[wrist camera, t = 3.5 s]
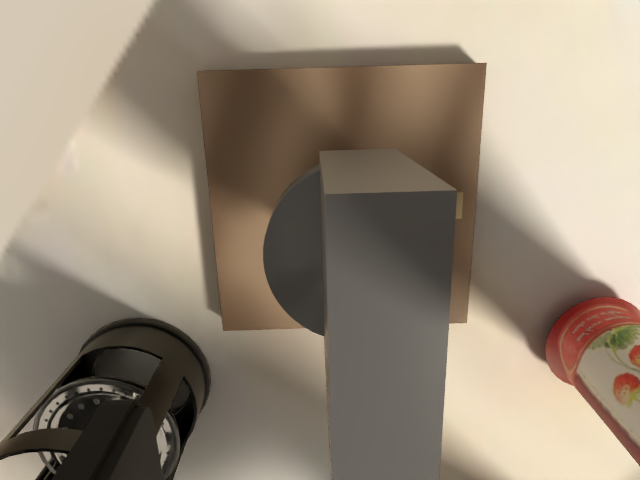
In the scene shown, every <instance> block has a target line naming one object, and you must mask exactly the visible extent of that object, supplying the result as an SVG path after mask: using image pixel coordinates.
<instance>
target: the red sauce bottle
mask: <svg viewBox="0 0 640 480" xmlns="http://www.w3.org/2000/svg"><path fill="white" fill-rule="evenodd" d="M546 359H547V363H548V365H549V367H550V369H551V371H552V372H553V373H554V374H555V375H556V376H557V377H558V378H559V379H561V380H562V381H563V382H566V383H568V384H570V385H573V386H574V387H575V388H576V389H577V390H578V391H579V393H580V394H581V395H582V396H583V397H584V399H585V400H586V401H587V402H588V403H589V404H590V406H591V407H592V408H593V409H594V410H595V412H596V413H597V414H598V415H599V416H600V418H601V419H602V420H603V421H604V423H605V424H606V425H607V426H608V428H609V429H610V430H611V431H612V432H613V434H614V435H615V436H616V437H617V439H618V440H619V441H620V442H621V444H622V445H623V446H624V447H625V448H626V450H627V451H628V452H629V453H630V455H631V456H632V457H633V458H634V459H635V461H636V462H637V463H638V464H639V466H640V311H639V310H638V309H637V308H636V307H635V306H634V305H632V304H631V303H629V302H627V301H625V300H622V299H618V298H614V297H600V298H593V299H590V300H587V301H584V302H581V303H579V304H577V305H575V306H573V307H572V308H571V309H569V310H568V311H566V312H565V313H564V314H563V315H562V316H561V317H560V318H559V319H558V320H557V321H556V323H555V324H554V326H553V327H552V329H551V331H550V333H549V335H548V338H547V342H546Z"/></svg>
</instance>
